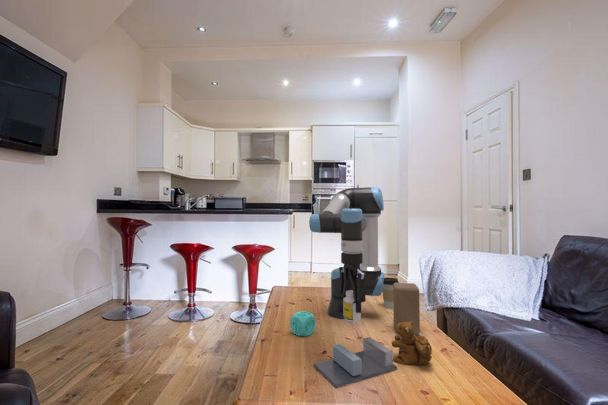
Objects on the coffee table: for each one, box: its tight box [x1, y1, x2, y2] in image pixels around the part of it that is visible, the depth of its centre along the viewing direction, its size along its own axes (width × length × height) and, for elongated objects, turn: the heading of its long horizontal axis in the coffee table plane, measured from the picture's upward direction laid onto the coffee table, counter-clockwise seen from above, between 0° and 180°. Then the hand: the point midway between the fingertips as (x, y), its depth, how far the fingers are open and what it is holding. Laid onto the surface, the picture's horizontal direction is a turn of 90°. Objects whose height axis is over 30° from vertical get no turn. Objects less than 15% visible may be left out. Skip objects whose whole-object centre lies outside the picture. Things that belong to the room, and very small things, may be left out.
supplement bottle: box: [343, 290, 354, 323], centre depth 106 cm, size 5×5×10 cm
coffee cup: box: [382, 277, 400, 309], centre depth 167 cm, size 10×10×15 cm
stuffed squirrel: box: [391, 321, 433, 366], centre depth 106 cm, size 10×14×13 cm
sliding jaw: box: [332, 343, 361, 376], centre depth 100 cm, size 12×4×5 cm, turn 26°
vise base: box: [313, 336, 398, 389], centre depth 101 cm, size 14×24×6 cm, turn 116°
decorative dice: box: [289, 310, 317, 337], centre depth 131 cm, size 8×8×8 cm
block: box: [392, 282, 421, 336], centre depth 133 cm, size 10×10×20 cm
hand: (351, 318), depth 106 cm, fingers closed on supplement bottle, 5 cm apart
